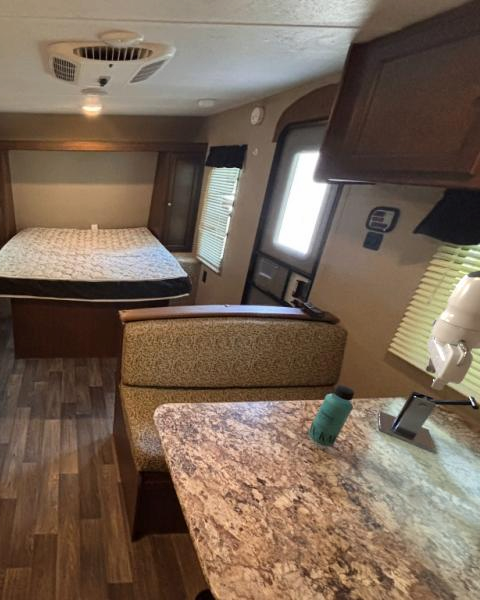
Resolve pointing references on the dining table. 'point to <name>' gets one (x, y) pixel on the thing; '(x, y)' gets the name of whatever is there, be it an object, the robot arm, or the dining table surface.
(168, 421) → the dining table surface
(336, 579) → the dining table surface
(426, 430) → the bracket
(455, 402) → the lever
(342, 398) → the beverage bottle
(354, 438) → the dining table surface
